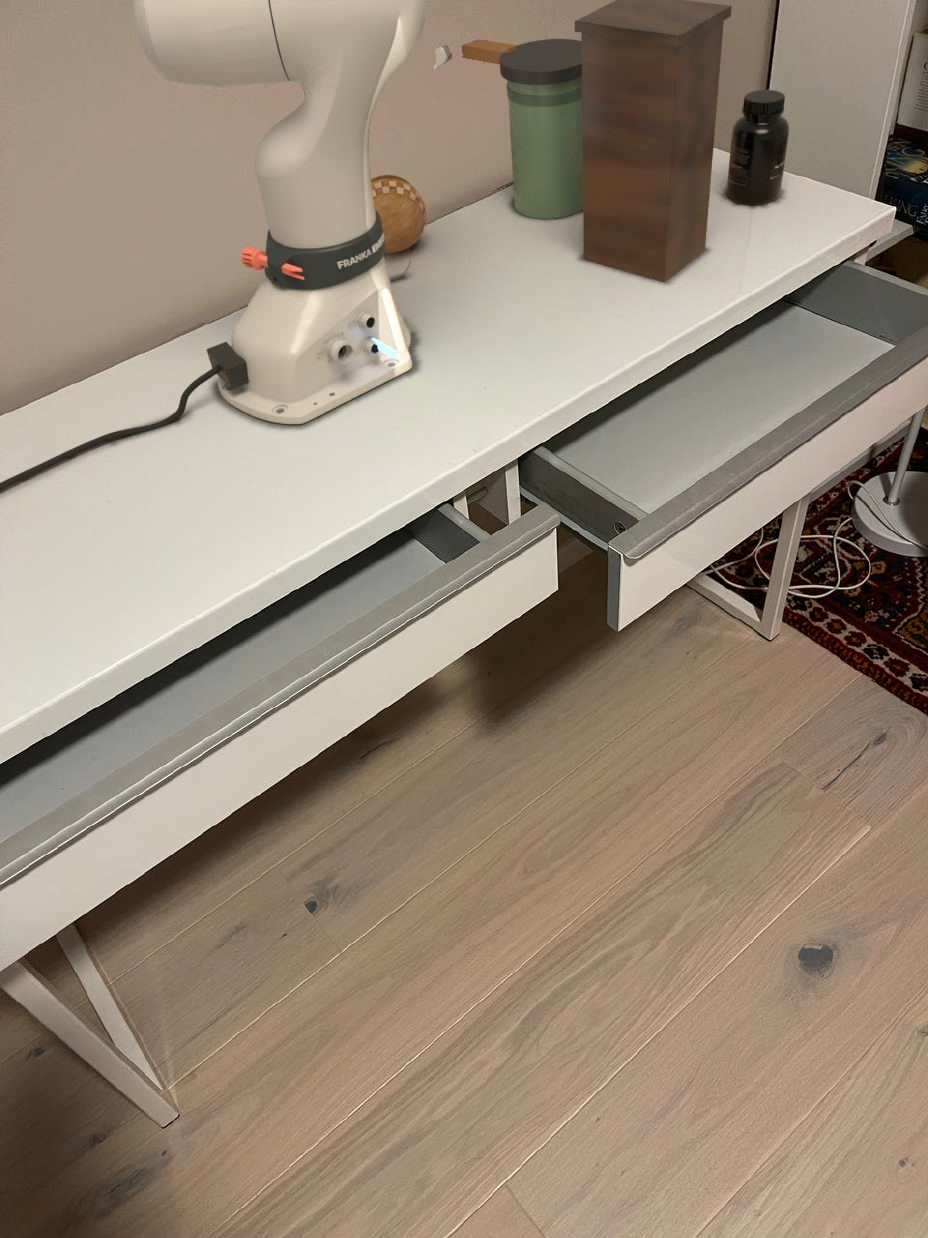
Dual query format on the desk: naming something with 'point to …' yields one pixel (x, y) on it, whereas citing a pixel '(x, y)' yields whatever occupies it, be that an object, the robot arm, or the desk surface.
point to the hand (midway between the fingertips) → (470, 40)
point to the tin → (546, 148)
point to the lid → (531, 59)
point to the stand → (648, 131)
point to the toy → (398, 212)
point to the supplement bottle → (758, 149)
